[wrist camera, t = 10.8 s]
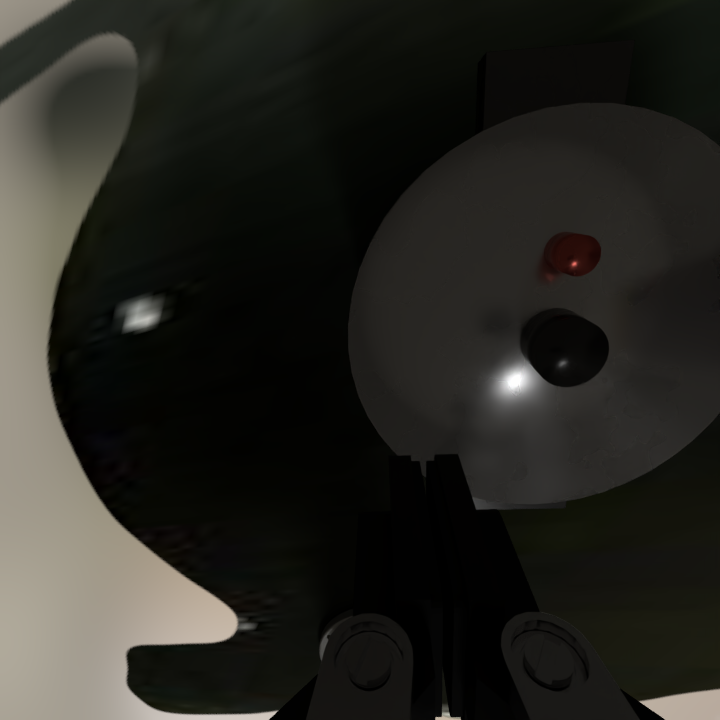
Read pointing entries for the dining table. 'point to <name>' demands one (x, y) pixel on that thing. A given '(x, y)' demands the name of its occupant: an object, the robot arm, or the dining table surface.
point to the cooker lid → (547, 303)
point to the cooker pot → (548, 102)
